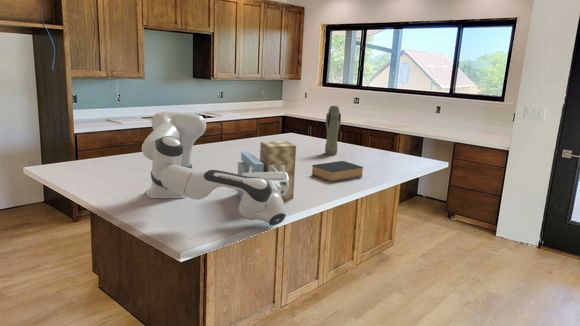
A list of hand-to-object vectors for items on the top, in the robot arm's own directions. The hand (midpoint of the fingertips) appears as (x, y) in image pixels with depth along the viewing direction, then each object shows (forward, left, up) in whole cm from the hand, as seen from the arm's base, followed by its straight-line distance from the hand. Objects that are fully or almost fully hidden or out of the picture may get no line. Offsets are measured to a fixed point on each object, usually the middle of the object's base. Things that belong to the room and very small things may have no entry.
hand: (261, 167), depth 189 cm
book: (+62, +47, -20) cm, 80 cm away
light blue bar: (0, +17, -3) cm, 17 cm away
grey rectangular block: (0, +18, -19) cm, 26 cm away
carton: (+14, +18, -19) cm, 30 cm away
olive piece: (+86, +106, -20) cm, 138 cm away
